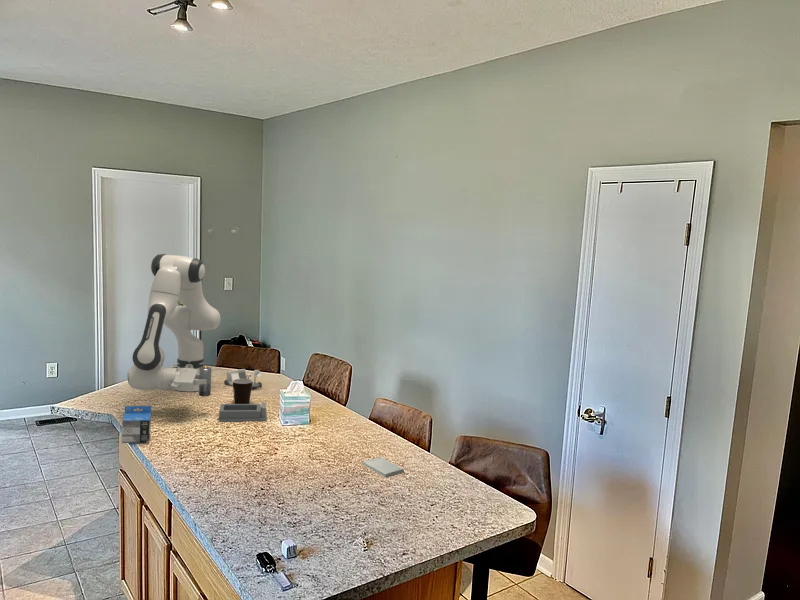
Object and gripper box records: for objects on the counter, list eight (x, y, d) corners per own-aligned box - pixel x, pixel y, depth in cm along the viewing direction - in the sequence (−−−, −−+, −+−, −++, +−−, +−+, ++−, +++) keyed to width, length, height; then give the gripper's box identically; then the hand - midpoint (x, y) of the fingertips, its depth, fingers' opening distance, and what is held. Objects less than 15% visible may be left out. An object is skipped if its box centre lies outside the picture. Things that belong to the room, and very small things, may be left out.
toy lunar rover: (266, 369, 279) (245, 373, 270) (265, 389, 280) (245, 393, 271) (244, 362, 290) (224, 365, 282) (244, 381, 292) (223, 385, 283)
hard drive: (404, 468, 192) (380, 456, 201) (385, 474, 187) (362, 461, 196) (403, 473, 192) (380, 460, 202) (384, 479, 187) (361, 465, 196)
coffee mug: (248, 406, 250) (249, 384, 249) (229, 405, 250) (229, 382, 249) (255, 399, 262) (256, 377, 261) (237, 397, 262) (238, 376, 261)
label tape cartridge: (121, 443, 199) (121, 409, 198) (123, 439, 203) (124, 405, 202) (148, 443, 202) (149, 409, 200) (150, 439, 205) (151, 405, 204)
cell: (199, 393, 237) (200, 364, 236) (211, 393, 238) (212, 365, 237) (198, 396, 233) (199, 367, 231) (210, 396, 234) (211, 368, 232)
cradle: (220, 412, 240) (221, 400, 239) (266, 412, 244) (266, 400, 244) (218, 421, 228) (219, 409, 227) (266, 421, 232) (266, 409, 232)
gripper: (167, 378, 221) (205, 378, 225) (175, 365, 241) (209, 365, 244) (167, 394, 222) (204, 394, 225) (175, 379, 242) (209, 380, 245)
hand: (207, 379), depth 235 cm, fingers closed on cell, 5 cm apart
